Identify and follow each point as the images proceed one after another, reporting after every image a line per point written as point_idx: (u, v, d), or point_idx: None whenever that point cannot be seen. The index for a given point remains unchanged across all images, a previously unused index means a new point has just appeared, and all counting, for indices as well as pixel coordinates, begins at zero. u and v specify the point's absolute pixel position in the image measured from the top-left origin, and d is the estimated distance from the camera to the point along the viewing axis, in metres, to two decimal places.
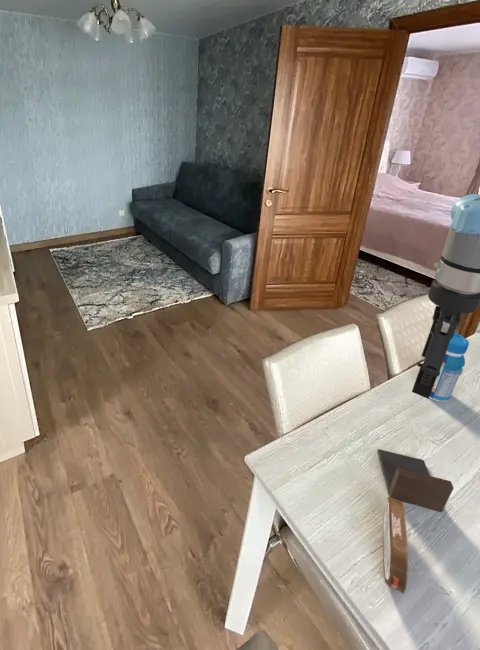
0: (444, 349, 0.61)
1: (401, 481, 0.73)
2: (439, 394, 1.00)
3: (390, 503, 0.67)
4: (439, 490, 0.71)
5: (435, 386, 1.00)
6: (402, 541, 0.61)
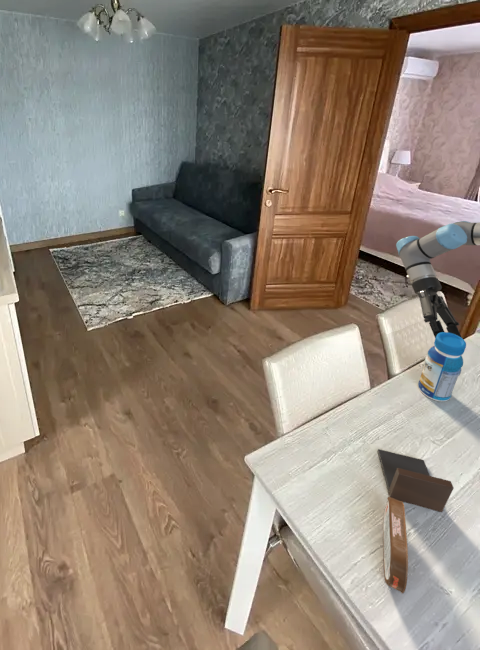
0: (428, 302, 1.05)
1: (401, 481, 0.73)
2: (438, 394, 1.00)
3: (390, 503, 0.67)
4: (439, 490, 0.71)
5: (434, 387, 0.99)
6: (402, 541, 0.61)
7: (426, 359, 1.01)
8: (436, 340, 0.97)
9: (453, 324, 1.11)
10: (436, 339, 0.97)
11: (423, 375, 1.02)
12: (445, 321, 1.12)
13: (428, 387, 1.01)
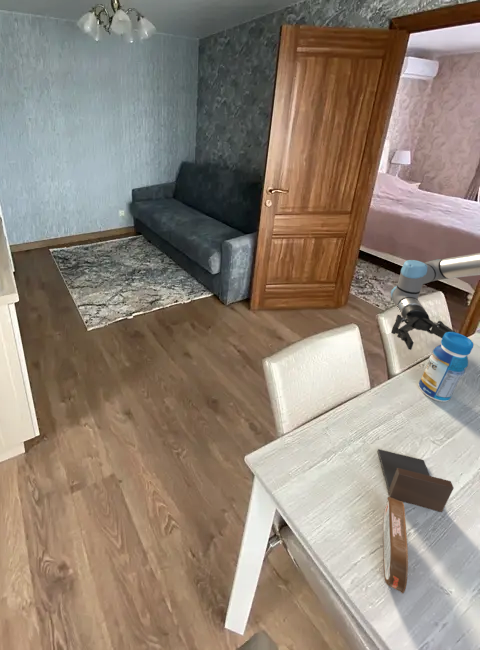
0: (396, 321, 1.18)
1: (401, 481, 0.73)
2: (440, 394, 1.00)
3: (390, 503, 0.67)
4: (439, 490, 0.71)
5: (437, 386, 0.99)
6: (402, 541, 0.61)
7: (431, 358, 1.01)
8: (444, 339, 0.97)
9: None
10: (444, 338, 0.97)
11: (426, 374, 1.02)
12: None
13: (430, 386, 1.01)
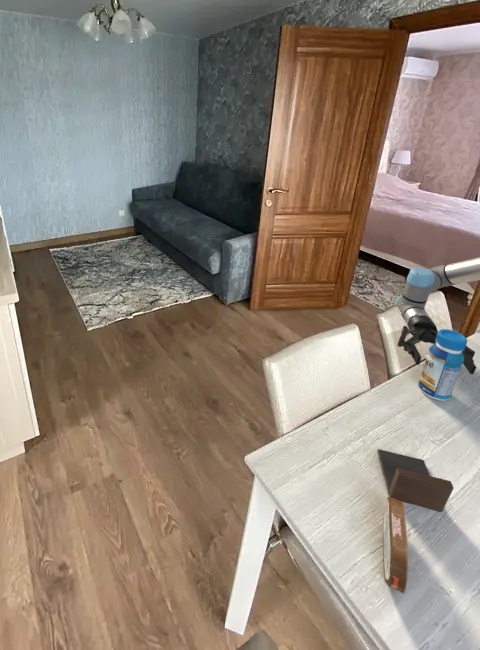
0: (402, 333, 1.12)
1: (401, 481, 0.73)
2: (440, 393, 1.00)
3: (390, 503, 0.67)
4: (439, 490, 0.71)
5: (436, 384, 1.00)
6: (402, 541, 0.61)
7: (427, 357, 1.02)
8: (438, 336, 0.99)
9: None
10: (438, 335, 0.99)
11: (424, 374, 1.03)
12: None
13: (429, 385, 1.01)
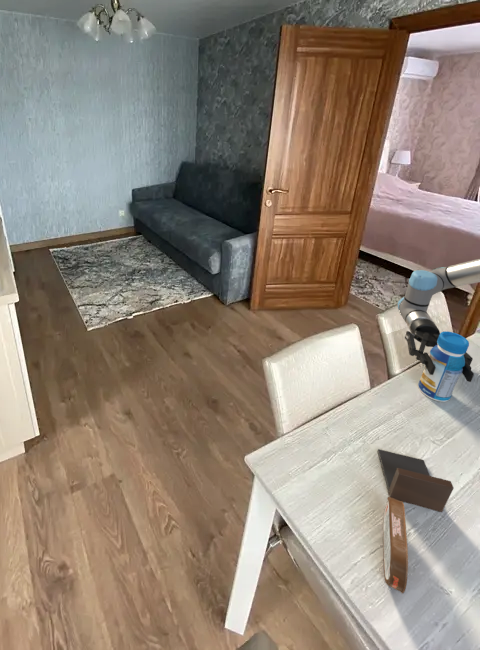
0: (409, 340, 1.08)
1: (401, 481, 0.73)
2: (440, 394, 1.00)
3: (390, 503, 0.67)
4: (439, 490, 0.71)
5: (436, 386, 1.00)
6: (402, 541, 0.61)
7: None
8: (440, 339, 0.98)
9: None
10: (440, 338, 0.98)
11: (424, 375, 1.02)
12: None
13: (429, 387, 1.01)
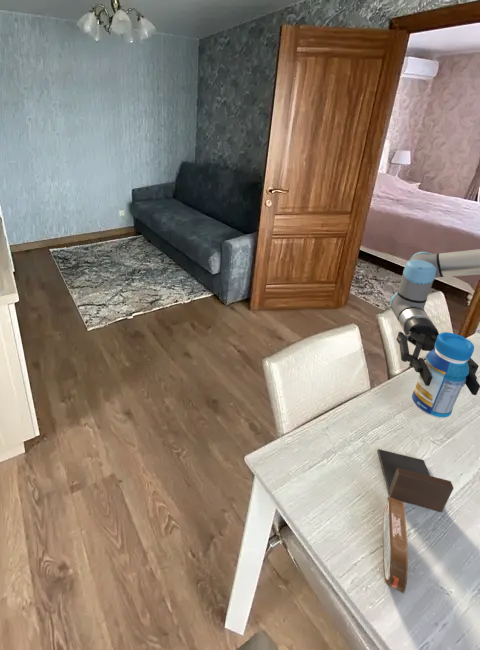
0: (402, 342, 0.90)
1: (401, 481, 0.73)
2: (438, 409, 0.81)
3: (390, 503, 0.67)
4: (439, 490, 0.71)
5: (433, 400, 0.81)
6: (402, 541, 0.61)
7: None
8: (438, 341, 0.79)
9: None
10: (438, 340, 0.79)
11: (419, 385, 0.84)
12: None
13: (425, 400, 0.83)
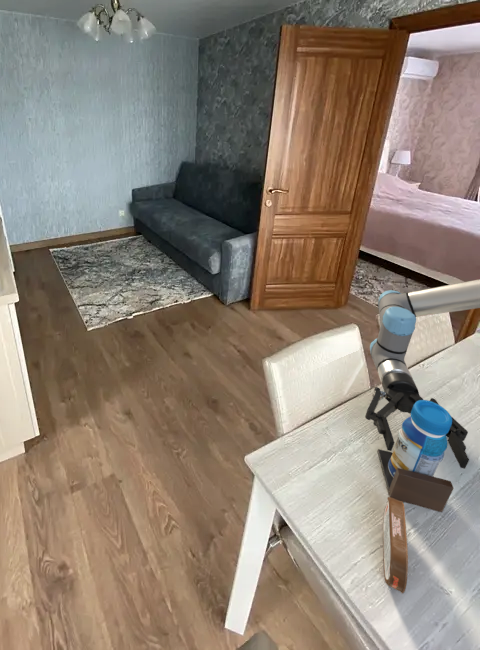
0: (372, 399, 0.85)
1: (401, 481, 0.73)
2: None
3: (390, 503, 0.67)
4: (439, 490, 0.71)
5: None
6: (402, 541, 0.61)
7: (399, 435, 0.77)
8: (414, 411, 0.73)
9: None
10: (414, 410, 0.73)
11: (395, 455, 0.78)
12: None
13: None
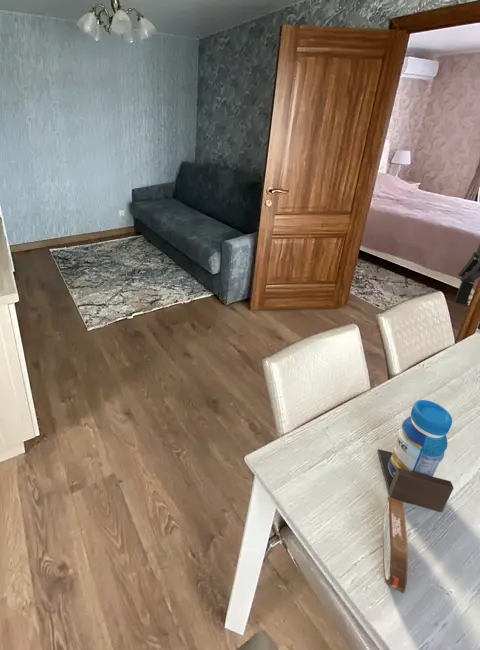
0: None
1: (401, 481, 0.73)
2: None
3: (390, 503, 0.67)
4: (439, 490, 0.71)
5: None
6: (402, 541, 0.61)
7: (399, 435, 0.77)
8: (414, 411, 0.73)
9: (470, 281, 0.99)
10: (414, 410, 0.73)
11: (395, 455, 0.78)
12: (468, 278, 0.98)
13: None
